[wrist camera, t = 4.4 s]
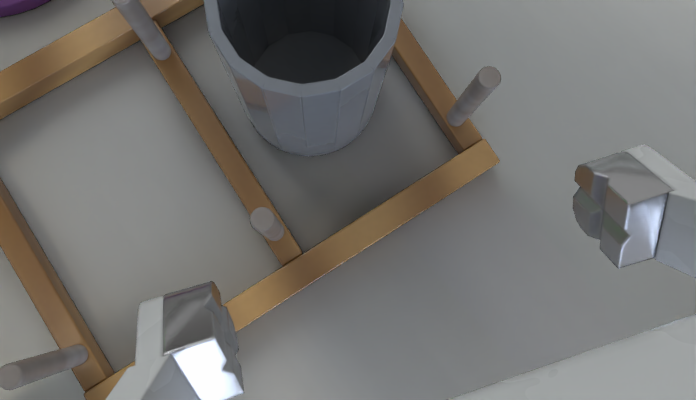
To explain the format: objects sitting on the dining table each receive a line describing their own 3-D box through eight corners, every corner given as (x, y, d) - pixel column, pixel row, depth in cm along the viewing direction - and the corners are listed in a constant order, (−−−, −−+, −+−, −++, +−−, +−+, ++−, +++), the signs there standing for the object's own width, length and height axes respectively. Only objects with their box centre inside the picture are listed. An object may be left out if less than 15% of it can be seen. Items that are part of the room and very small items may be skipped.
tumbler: (288, 181, 25) (271, 133, 16) (218, 71, 25) (166, -32, 17) (400, 112, 25) (439, 30, 17) (329, 6, 26) (334, -124, 17)
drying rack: (109, 413, 23) (35, 461, 17) (-60, 123, 24) (-183, 73, 18) (492, 166, 25) (545, 132, 19) (319, -90, 26) (318, -197, 20)
